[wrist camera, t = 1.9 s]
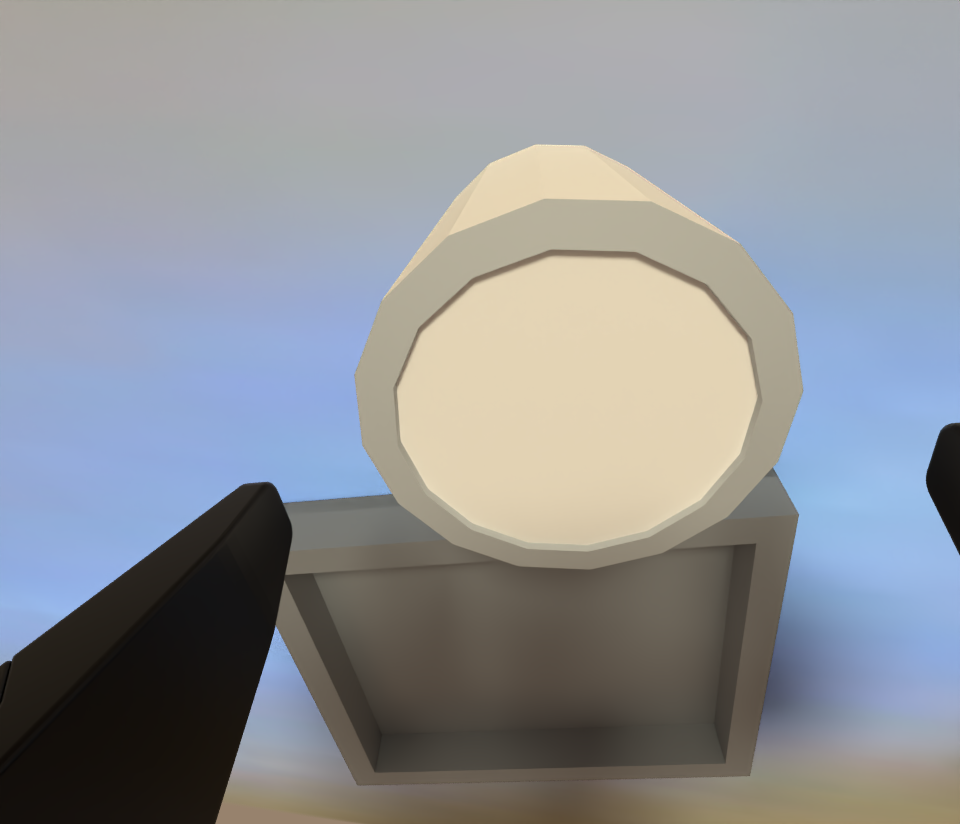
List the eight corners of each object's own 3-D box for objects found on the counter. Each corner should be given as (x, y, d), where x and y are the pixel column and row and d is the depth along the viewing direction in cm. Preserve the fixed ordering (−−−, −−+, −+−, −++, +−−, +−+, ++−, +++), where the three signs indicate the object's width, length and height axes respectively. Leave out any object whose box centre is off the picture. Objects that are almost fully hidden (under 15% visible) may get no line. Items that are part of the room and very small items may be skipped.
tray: (770, 463, 18) (798, 514, 17) (733, 721, 26) (749, 775, 24) (264, 504, 20) (239, 554, 18) (367, 734, 28) (357, 785, 26)
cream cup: (741, 152, 14) (907, 264, 8) (634, 403, 18) (694, 604, 12) (438, 78, 13) (379, 140, 7) (396, 353, 17) (334, 538, 11)
